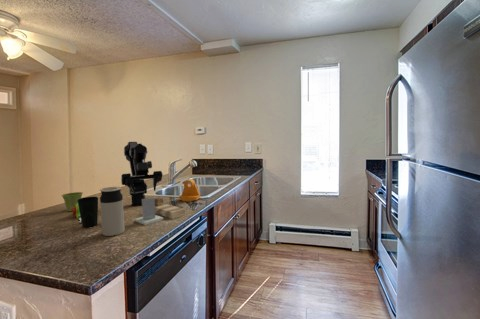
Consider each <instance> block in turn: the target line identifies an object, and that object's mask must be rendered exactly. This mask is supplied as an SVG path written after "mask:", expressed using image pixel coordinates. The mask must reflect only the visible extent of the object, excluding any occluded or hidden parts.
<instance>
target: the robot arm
mask: <svg viewBox="0 0 480 319" xmlns="http://www.w3.org/2000/svg"><path fill="white" fill-rule="evenodd" d="M147 154H148V148H147V147H146V146H145V145H144V144H142V143H138V141H128V142H127V145H125V146H124V148H123V155H124V157H125V159H126V161H128V162H129V166H130V172H131V173H130V172H128V173H121V178H120V179H121V180H120V181H121V185H122V186H125V187H127V188H129V190H128V193H129V195H130V197H131V205H130V206H131V207H135V206H142V199H145V198H146V195H145V194H147V193H148V185H147V183H146V182H145V180H152V185H153V190H154V192H156V188H157V184H158V183H160V182H162V179H163V172H162V170H154V171H153V173H152V174H149V169H152V168H153V163H152V161H151V160H150V161H148V160H147V161H146V159H147Z"/></svg>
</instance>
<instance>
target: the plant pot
mask: <svg viewBox="0 0 480 319" xmlns="http://www.w3.org/2000/svg"><path fill="white" fill-rule="evenodd" d="M82 195H83V192H81V191H77V192H76V191H75V192H68V193H63V194H61V197H62V199H63V201H64V204H65V207H66V211H67V212H73V211H72V208H73V207H75V204H77V203H78V201H77V200H78V199H81V198H83V196H82Z"/></svg>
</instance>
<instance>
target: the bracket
mask: <svg viewBox="0 0 480 319" xmlns="http://www.w3.org/2000/svg"><path fill="white" fill-rule="evenodd" d="M200 198H201V194H200V192H199V189H198V186H197V185H196V181H195V180H194V179H192V178H190V179H188V180H185V181H184V183H183V190H182V192H181V194H180V195H179V197H178V201H183V202H193V201H198V200H199V199H200Z"/></svg>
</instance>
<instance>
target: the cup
mask: <svg viewBox="0 0 480 319" xmlns="http://www.w3.org/2000/svg"><path fill="white" fill-rule="evenodd" d="M77 201H78V206H79V211H80V216H81V221H82V223H81V224H82V228H83V227H84V228H83V229H90V228H89V227H92V228H95V227H96V226H98V220H99V219H98V218H99V216H98V214H99V212H98V211H99V197H98V196H87V197H86V196H85V197H81V199H78V200H77ZM94 226H95V227H94Z"/></svg>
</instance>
